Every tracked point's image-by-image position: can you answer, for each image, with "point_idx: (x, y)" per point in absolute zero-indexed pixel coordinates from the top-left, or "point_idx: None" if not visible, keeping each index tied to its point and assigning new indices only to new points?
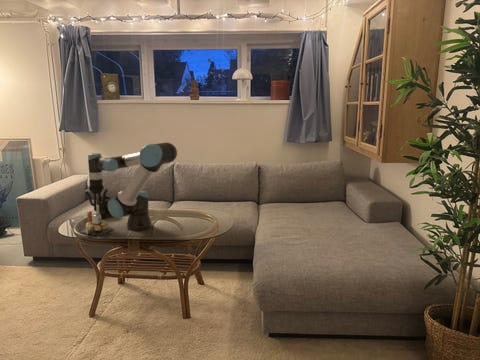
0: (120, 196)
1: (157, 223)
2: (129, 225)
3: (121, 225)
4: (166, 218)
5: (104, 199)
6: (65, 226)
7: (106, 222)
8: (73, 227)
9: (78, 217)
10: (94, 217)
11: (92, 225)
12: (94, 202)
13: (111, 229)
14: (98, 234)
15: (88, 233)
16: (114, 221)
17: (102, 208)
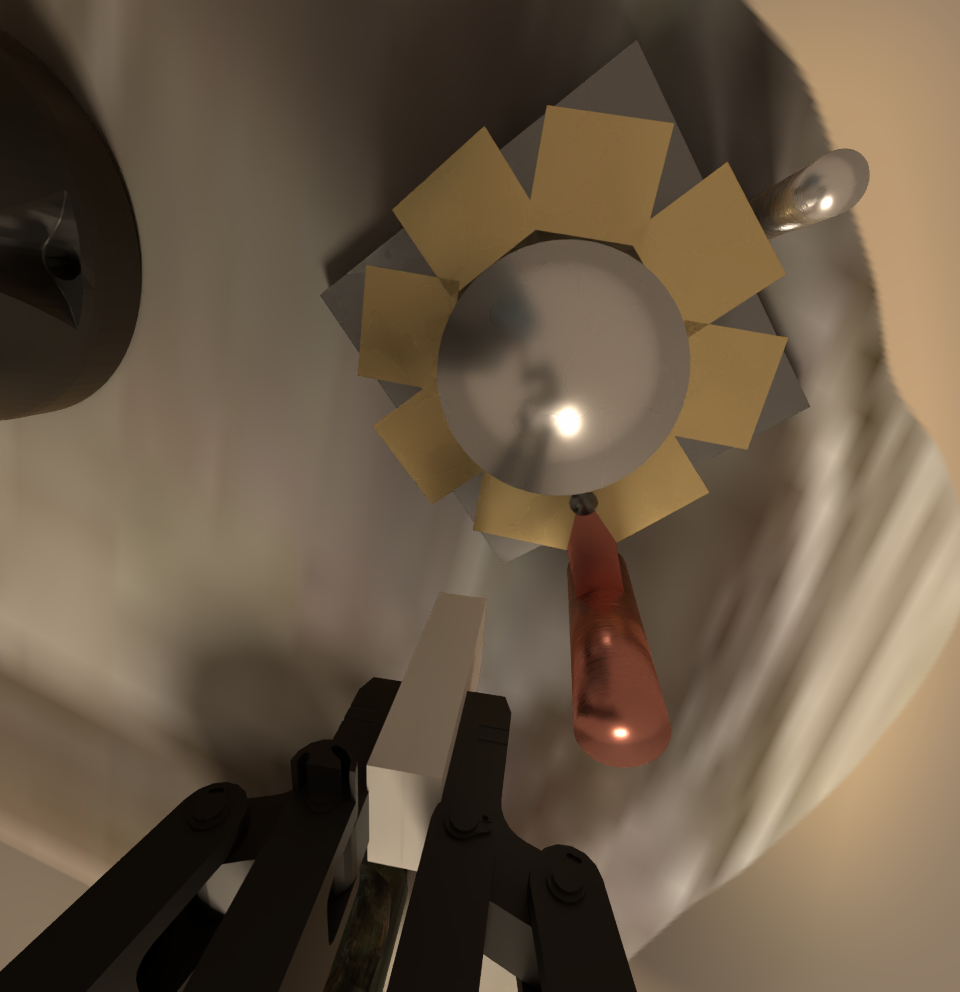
0: None
1: None
2: (42, 134)
3: (205, 427)
4: None
5: (7, 974)
6: (849, 757)
7: (380, 310)
8: (781, 674)
9: None
10: (644, 271)
11: (683, 242)
12: (469, 955)
13: (355, 270)
14: (613, 59)
15: (753, 199)
16: (269, 623)
17: None
